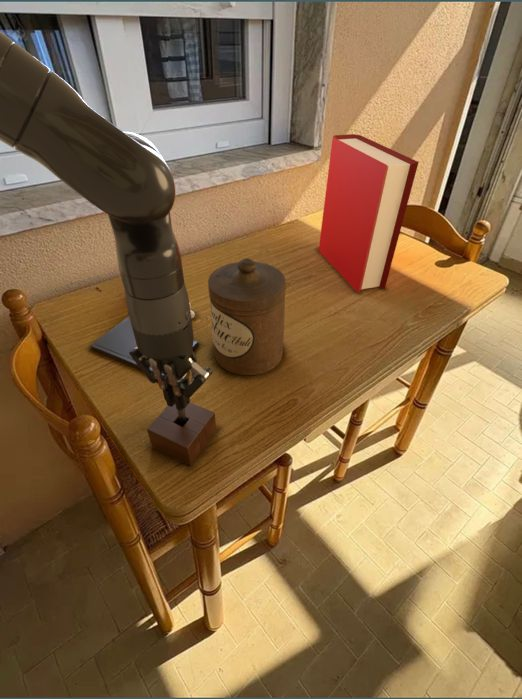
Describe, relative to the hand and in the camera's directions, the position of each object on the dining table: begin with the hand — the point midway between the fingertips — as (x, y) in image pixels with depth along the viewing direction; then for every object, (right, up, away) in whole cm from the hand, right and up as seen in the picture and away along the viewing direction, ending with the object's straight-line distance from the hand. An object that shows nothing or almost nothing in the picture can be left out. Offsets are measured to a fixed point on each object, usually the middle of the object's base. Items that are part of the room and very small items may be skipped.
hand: (178, 404), depth 60 cm
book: (+39, +33, +52) cm, 73 cm away
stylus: (0, -7, +6) cm, 9 cm away
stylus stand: (0, -7, +6) cm, 9 cm away
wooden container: (+10, +8, +23) cm, 27 cm away
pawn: (-4, +17, +33) cm, 37 cm away
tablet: (-13, +9, +24) cm, 29 cm away
